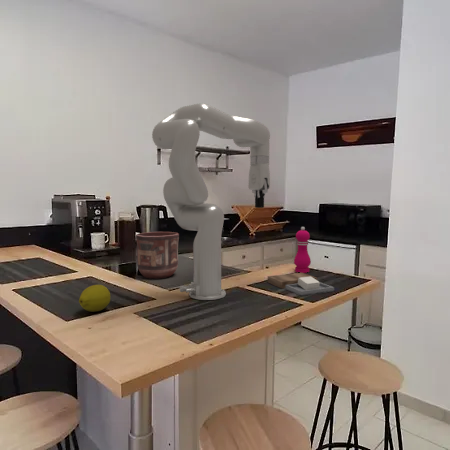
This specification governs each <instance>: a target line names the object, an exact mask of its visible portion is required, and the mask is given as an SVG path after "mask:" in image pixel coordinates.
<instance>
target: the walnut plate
mask: <svg viewBox="0 0 450 450" xmlns="http://www.w3.org/2000/svg"><path fill="white" fill-rule="evenodd" d="M310 276H311V277H313V278H314V279H316V280H317V281H318V277H316V276H313V275H310V274H308V273H298V272H294V273H285V274H278V275H277V274H276V275H269V276H267V283H268V284H269V285H270V284H271V286H272V285H273V286H275V287H277V288H279V289H285V285H289V284H297V283H298V278H301V277H310Z"/></svg>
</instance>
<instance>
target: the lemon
mask: <svg viewBox="0 0 450 450" xmlns="http://www.w3.org/2000/svg"><path fill="white" fill-rule="evenodd" d="M111 297H112V296H111V292H110V290H109V288H108V287H106V286H105V285H103V284H93V285H90V286H88V287H86V288H84V290H82V292H81V293H80V296H79V299H78V303H79V305H80V306H81V308H82V309H83V310H85V311H87V312H92V313H95V312H100V311H102V310H104V309H105V308H107V306H108V305H109V304H110V302H111Z"/></svg>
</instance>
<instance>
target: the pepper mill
mask: <svg viewBox="0 0 450 450" xmlns="http://www.w3.org/2000/svg"><path fill="white" fill-rule="evenodd" d="M305 229H306V228H305V226H301V227H300V230H298V231H297V232H296V234H295V239H296V240H297V241H296V245H297V252H296V255H295V257H294V259H293V260H294V261H293V263H294V266H295V267H294V272H295V271H296V272H295V273H298V272H300V273H305V274H308V273H310V267H309V266H310V265H311V261H312V260H311V257H310V255H309V252H308V245H309V240H310V238H311V235H310V233H309V232H308V231H307V230H305ZM307 272H308V273H307Z"/></svg>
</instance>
